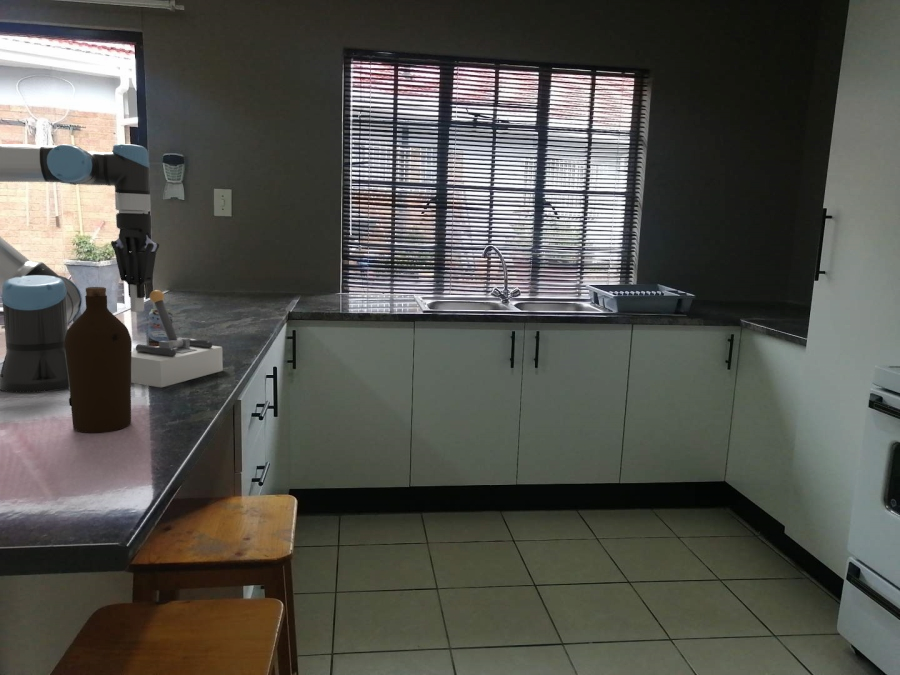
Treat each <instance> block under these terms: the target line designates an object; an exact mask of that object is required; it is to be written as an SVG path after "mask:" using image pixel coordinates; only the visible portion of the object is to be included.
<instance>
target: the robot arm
mask: <svg viewBox="0 0 900 675" xmlns="http://www.w3.org/2000/svg"><path fill="white" fill-rule="evenodd" d="M112 146H113V147H112V150H111V151H112V152H111V151H110V152H100V151H87V150H84V149H83V148H82V147H80V146H77V145H75V144H66V143H65V144H63V143H62V144H59V145H41V144H5V143H4V144H0V183H3V182H6V183H9V182H10V183H13V182H14V183H61V184H68V185H74V186H77V185H82V186H84V185H87V186H109V187H112V186H113V187H114V202H115V203H114V204H115V210H116V211H118V212H117V213H116V214H115V217H116V218H115V221H116V222H115V223H116V228H117V229H118V230H119V234H118V238H117V239H116V240H111V241H110V245H111V247H112V249H113V250H114V256H115V259H116V264H117V269H118V273H119V277H120V280H121V281H122V282H126V284H127V285H128V286H127V288H128V297H129V298H130V312H132V313H137V312H145V298H146V284H147V283H151V282H153V276H154V269H155V268H154V267H155V262H156V255H157V252H158V249H159V248H160V243H158V242H154V241H153V240H152V238H151V235H150V230H151V229H152V215H150V213H149V212H151V195H150V194H151V184H150V180H151V178H150V164H149V163H150V161H149V151H148V149H147V147H144V146H142V145H137V144H130V143H129V144H127V143H126V144H122V143H116V144H114V145H112ZM0 289H1V295H0V296H1V301H2V310H3V322H4V326H3V327H4V337H5V338H4V339H5V349H6V350H5V357H4V359H3V363H2V366H1V371H0V390H1V391H3V392H8V393H9V392H10V393H20V394H21V393H44V392H52V391H58V390H63V389H69V383H68V374H67V366H66V358H65V350H64V340H65V336H66V333H67V330H68V329H69V327H68V324H70V323H71V322H74V320H75V318H76V319H77V316H78V315H79V313H80V311H81V308H82V306H83V296H82V292H81V290H80V288H79V287H78V286H77V285H76V284H75V282H74V281H73V280H71V279H69V278H67V277H64V276H63V275H59V274H57V272H55V271H54V270H52V268H50V267H49V266H47V265H46V263H44V262H43V261H31V260H29V259H28V258H27V257H26V256H24V254H23V253H21V252H20V251H18V250H17V249H16V248H15V247H14V246H12V245H11V244H10V243H9V242H8V241H6V240H5V239H4V238H2V237H1V236H0Z"/></svg>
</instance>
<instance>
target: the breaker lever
mask: <svg viewBox="0 0 900 675" xmlns="http://www.w3.org/2000/svg"><path fill="white" fill-rule="evenodd" d="M149 299H150V302H152V303H153V304H154V306H155V309H157V311H158V314H159V317H160V319H161V322H162V325H163V327H164V330H165V333H166V335H167V338H168V342H173V348H177V347H182V346H183V340H182V339H177V337H178V336H177V334H176V332H175V329H174V326H173V322H172V323H171V320H170V318H169V315H168V312H167V310H166V309H167V308H166V305H165V302H164V299H165V294H164V292H162V291H161V290H159V289H155V290H152V291H151V292H150V293H149Z"/></svg>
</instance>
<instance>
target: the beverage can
mask: <svg viewBox="0 0 900 675" xmlns="http://www.w3.org/2000/svg"><path fill="white" fill-rule="evenodd" d="M166 310H167V312H168V315H169V318H170V320H171V323H172V324H173V313H172V312H171V309H169V308H168V309H167V308H166ZM159 341H168V338H167V335H166V333H165V330H164V327H163V325H162V322H161V319H160V317H159V314H158V311H157V309H156V308H151V309H150V311H149V313H148V344H147V345H149V346H156V347H157V346H159Z"/></svg>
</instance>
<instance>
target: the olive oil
mask: <svg viewBox="0 0 900 675" xmlns="http://www.w3.org/2000/svg"><path fill="white" fill-rule="evenodd" d="M85 293H86V294H85V296H84V298H85V310H84V311H83V312H82V313H81V314H80V316H78V318H76V320H75V321H73V323H72V324H71V325H70V326H69V327H68V330H67V333H66V336H65V340H64V350H65V358H66V366H67V374H68V383H69V387H68V391H69V398H68V403H69V406H70V407H71V408H70V409H71V418H72V427H73V429H74V430H75V431H77V432H79V431H80V432H81V433H86V434H87V433H89V434H96V433H107V432H108V433H109V432H114V431H119V430H122V429H124V428H126V427H129V425H131V423H132V383H131V352H132V351H133V350H132V346H133V344H132V343H133V342H132V337H131V334H130V332H129V329H128V327H127V326H126V325H125V324H124V322H122V321H121V320H120V319H119V318H117V316H116V315H115V314H113V313H112V312H111V311H110V309H109V308H108V295H107V294H106V293H107V288H106V287H104V286H88V287H85Z"/></svg>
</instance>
